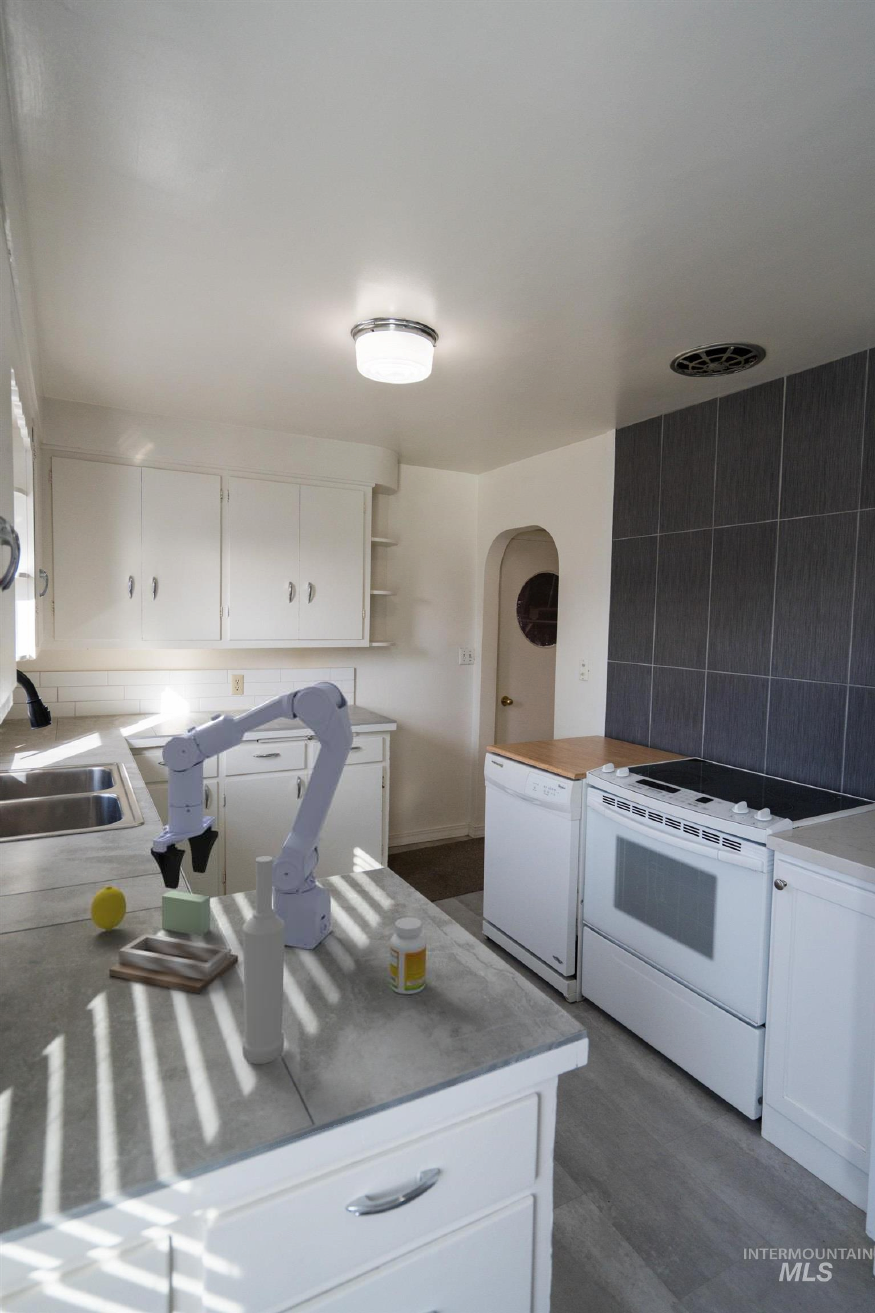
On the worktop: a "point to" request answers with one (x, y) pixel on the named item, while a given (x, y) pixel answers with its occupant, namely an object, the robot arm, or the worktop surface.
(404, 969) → the supplement bottle
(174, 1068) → the worktop surface
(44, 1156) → the worktop surface
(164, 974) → the track base
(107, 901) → the lemon
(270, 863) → the bottle
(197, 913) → the pale green rectangular block
